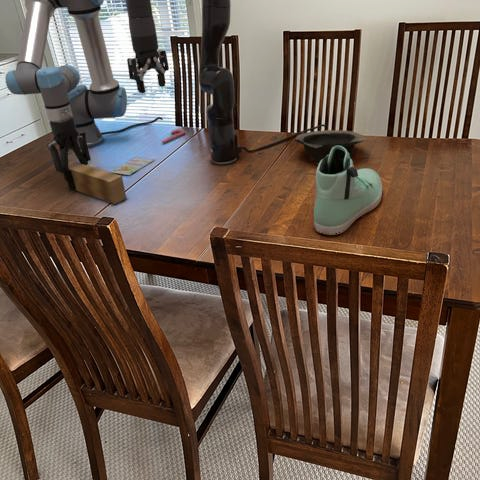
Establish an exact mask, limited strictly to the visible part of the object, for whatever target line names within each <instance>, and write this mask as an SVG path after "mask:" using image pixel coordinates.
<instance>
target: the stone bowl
mask: <svg viewBox="0 0 480 480" xmlns="http://www.w3.org/2000/svg"><path fill="white" fill-rule="evenodd" d="M295 137H296V138H295V139H294V142H297V143H299V144H301V145H303V150H304V153H305V154H306V155H307V157H309V158H311V159H312V161H311V162H312V163H313V164H315V165H319V163H320V161H321V160H322V159H324V158H325V157H326V156H327V155H329V154H330V152H331V149H332V148H333V147H334V146H342V147H344V148H345V149H346V150H347V152H348V153H349V156H350V159H352V158H353V156H354V152H355V146H356V145H357V144H360V143H362V142H363V141H364V142H365V140H366V139H367V137H365V136H364V135H363V134H362V133H358V132H355V131H353V130H352V131H351V130H338V129H336V130H333V129H323V130H311V131H307V132H304V133H301V134H299V135H296V136H295Z"/></svg>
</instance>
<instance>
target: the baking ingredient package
mask: <svg viewBox="0 0 480 480" xmlns="http://www.w3.org/2000/svg"><path fill="white" fill-rule="evenodd" d="M153 161H154V159H148V158H147V159H146V158H141V157H134V158H132V159H130V160H128V161H126V162H125V163H123V164H121V165H118V167H115V168H114V169H112V170H110V173H114V174H118V175H127V176H130V175H132V174H133V173H135V172H137V171H138V170H140V169H142V168H143V167H145V166H146V165H148V164H150V163H151V162H153Z"/></svg>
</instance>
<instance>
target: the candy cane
mask: <svg viewBox="0 0 480 480" xmlns="http://www.w3.org/2000/svg"><path fill="white" fill-rule="evenodd" d="M170 134H171V135H172V136H169V137H166V138H165V139H163V140H161V143H162V144H166V143H169V142H172V141H173V140H175V139H177V138H180V137H181V136H184V135H185V134H186V131H185V130H184V129H182V128H181V129H180V128H178V129H173V130H171V132H170Z"/></svg>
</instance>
